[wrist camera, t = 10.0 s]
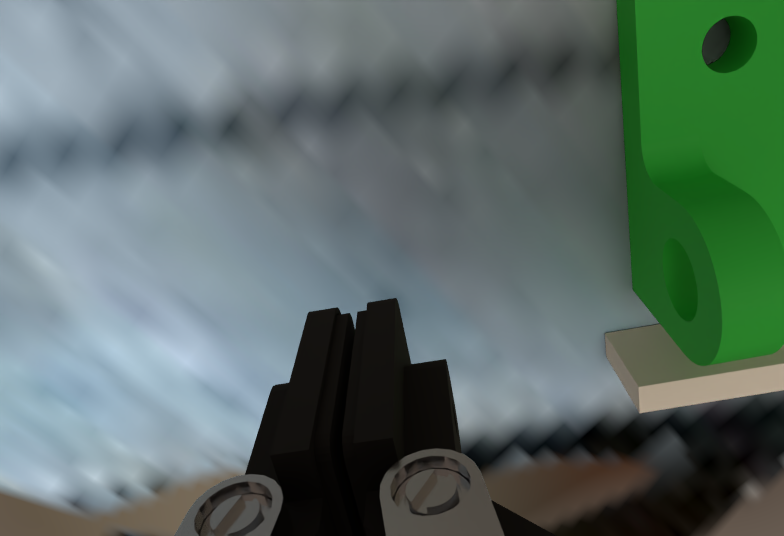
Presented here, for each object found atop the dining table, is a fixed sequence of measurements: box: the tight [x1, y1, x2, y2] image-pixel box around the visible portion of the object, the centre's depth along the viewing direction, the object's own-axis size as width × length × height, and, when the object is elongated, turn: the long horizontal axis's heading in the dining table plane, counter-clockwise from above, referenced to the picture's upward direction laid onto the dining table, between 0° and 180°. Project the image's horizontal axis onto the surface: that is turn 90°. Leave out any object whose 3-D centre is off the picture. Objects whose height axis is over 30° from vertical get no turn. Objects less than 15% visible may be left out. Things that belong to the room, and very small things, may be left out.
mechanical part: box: [616, 0, 784, 366], centre depth 21 cm, size 12×6×8 cm, turn 11°
